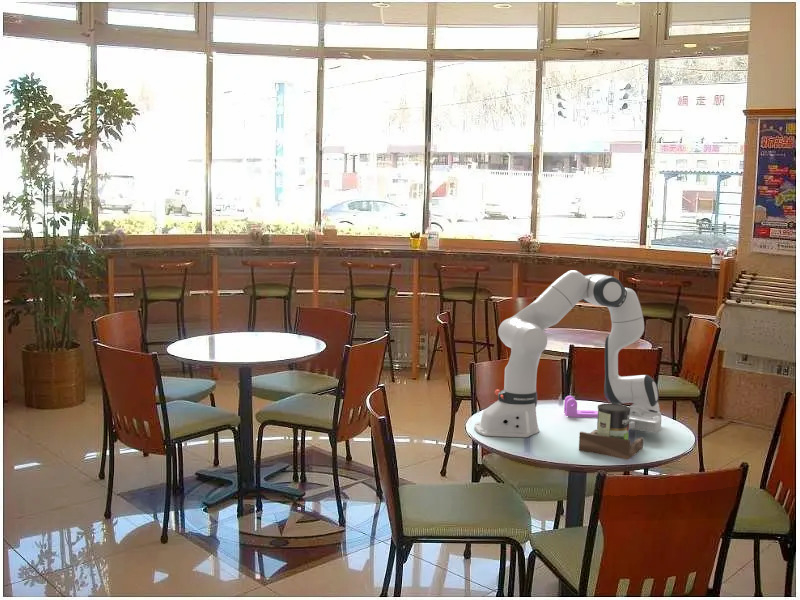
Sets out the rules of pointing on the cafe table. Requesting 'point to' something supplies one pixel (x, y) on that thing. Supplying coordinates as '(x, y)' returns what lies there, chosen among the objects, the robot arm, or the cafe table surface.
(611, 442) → the box
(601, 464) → the cafe table surface
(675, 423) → the cafe table surface
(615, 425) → the coffee can
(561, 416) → the cafe table surface
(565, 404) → the bracket
